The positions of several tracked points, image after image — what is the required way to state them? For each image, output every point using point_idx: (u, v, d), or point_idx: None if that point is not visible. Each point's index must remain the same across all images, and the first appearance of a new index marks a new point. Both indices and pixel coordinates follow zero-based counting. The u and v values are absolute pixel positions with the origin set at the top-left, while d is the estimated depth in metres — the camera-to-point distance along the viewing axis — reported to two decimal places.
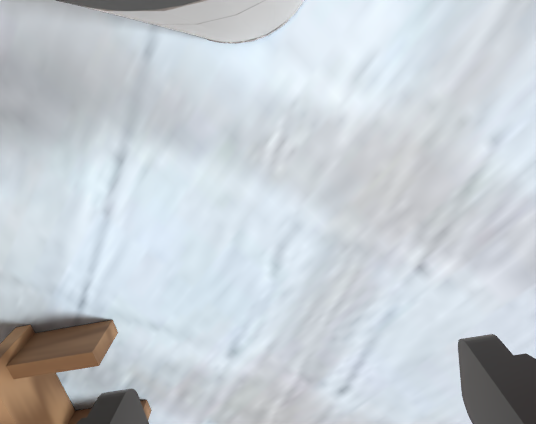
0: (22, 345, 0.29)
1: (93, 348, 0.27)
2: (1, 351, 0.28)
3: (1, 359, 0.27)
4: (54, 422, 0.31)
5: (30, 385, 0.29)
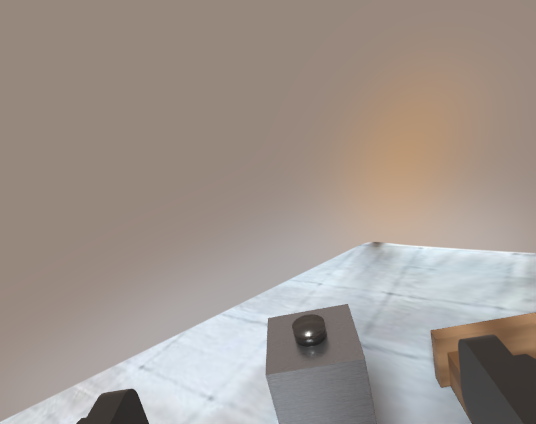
0: None
1: None
2: None
3: None
4: None
5: (531, 348, 0.32)
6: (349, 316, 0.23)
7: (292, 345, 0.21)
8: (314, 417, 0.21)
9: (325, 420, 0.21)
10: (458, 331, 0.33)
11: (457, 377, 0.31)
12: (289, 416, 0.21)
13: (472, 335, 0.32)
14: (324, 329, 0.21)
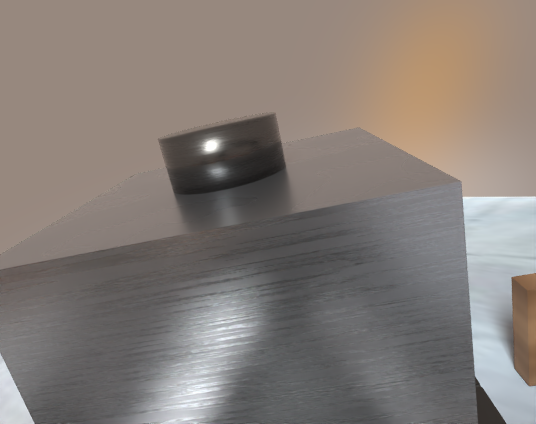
0: None
1: None
2: None
3: None
4: None
5: None
6: (365, 136, 0.07)
7: (154, 198, 0.06)
8: None
9: None
10: None
11: None
12: None
13: None
14: (273, 135, 0.06)
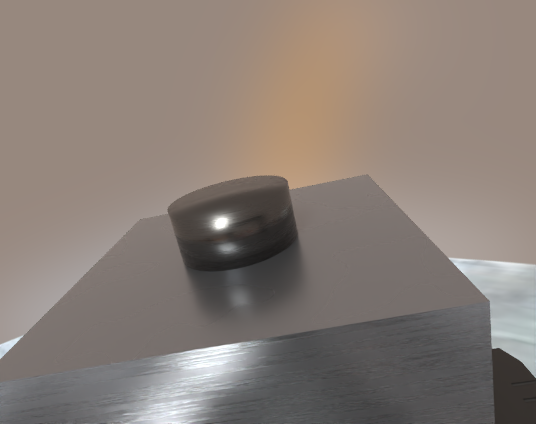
0: None
1: None
2: None
3: None
4: None
5: None
6: (377, 193, 0.07)
7: (165, 271, 0.06)
8: None
9: None
10: None
11: None
12: None
13: None
14: (286, 208, 0.06)
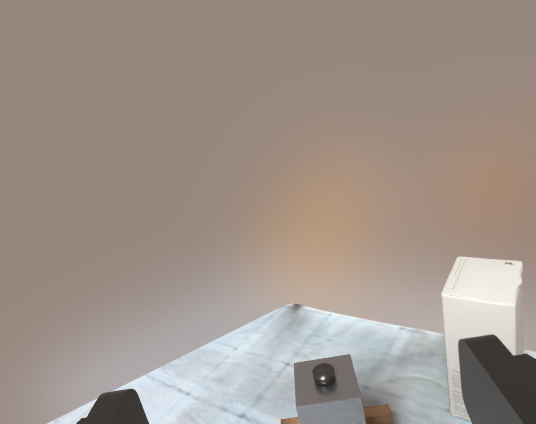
0: None
1: None
2: None
3: None
4: None
5: None
6: (351, 365, 0.33)
7: (312, 385, 0.32)
8: None
9: None
10: None
11: None
12: None
13: None
14: (334, 375, 0.32)
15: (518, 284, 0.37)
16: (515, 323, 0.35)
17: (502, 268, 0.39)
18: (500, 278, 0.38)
